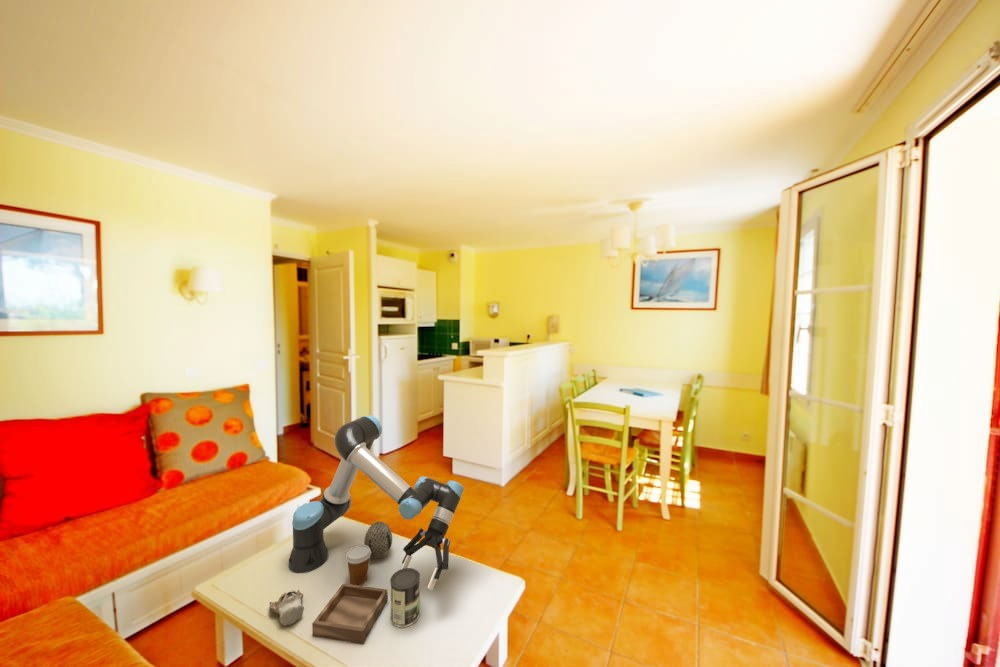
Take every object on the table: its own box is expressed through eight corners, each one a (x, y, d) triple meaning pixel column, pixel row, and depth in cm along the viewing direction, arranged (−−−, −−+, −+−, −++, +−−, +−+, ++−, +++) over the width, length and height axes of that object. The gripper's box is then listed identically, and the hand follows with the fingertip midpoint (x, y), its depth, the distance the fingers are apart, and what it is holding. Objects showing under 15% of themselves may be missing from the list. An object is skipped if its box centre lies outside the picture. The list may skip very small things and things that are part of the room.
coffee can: (420, 602, 137) (420, 566, 136) (418, 625, 127) (419, 587, 126) (392, 605, 135) (392, 569, 134) (388, 629, 125) (388, 590, 124)
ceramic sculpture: (275, 611, 121) (267, 587, 132) (276, 637, 121) (267, 611, 132) (310, 595, 128) (300, 574, 139) (311, 620, 128) (300, 596, 139)
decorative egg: (382, 567, 155) (382, 533, 154) (358, 561, 158) (358, 528, 157) (397, 550, 166) (397, 518, 165) (375, 544, 169) (375, 513, 168)
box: (342, 594, 139) (342, 583, 139) (387, 600, 137) (387, 589, 137) (312, 636, 122) (312, 623, 121) (363, 644, 119) (363, 631, 119)
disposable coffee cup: (362, 590, 142) (362, 561, 141) (340, 586, 143) (340, 557, 143) (375, 573, 151) (375, 545, 150) (355, 569, 153) (355, 542, 152)
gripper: (470, 533, 142) (447, 596, 130) (421, 515, 154) (395, 571, 142) (463, 527, 137) (437, 592, 125) (412, 509, 149) (384, 567, 136)
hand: (415, 581), depth 133 cm, fingers open, 13 cm apart
